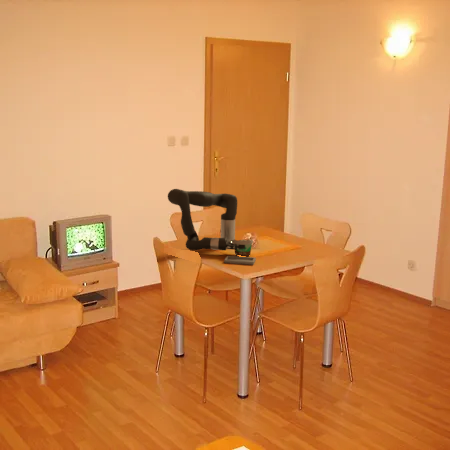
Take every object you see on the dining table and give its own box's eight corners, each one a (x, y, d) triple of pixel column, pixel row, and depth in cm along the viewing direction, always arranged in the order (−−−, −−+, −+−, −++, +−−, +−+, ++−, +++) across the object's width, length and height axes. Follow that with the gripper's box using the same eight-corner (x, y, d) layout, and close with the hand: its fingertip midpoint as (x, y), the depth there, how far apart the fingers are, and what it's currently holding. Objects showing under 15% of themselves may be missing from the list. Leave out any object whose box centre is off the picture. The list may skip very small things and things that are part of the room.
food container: (234, 257, 368) (234, 241, 365) (232, 254, 374) (233, 238, 371) (254, 257, 370) (255, 241, 367) (252, 254, 376) (253, 238, 373)
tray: (227, 258, 365) (227, 255, 365) (255, 260, 363) (255, 257, 362) (224, 263, 356) (224, 260, 355) (253, 265, 353) (253, 262, 353)
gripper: (216, 240, 365) (244, 242, 363) (221, 235, 379) (247, 236, 376) (216, 252, 367) (244, 254, 364) (220, 247, 381) (247, 248, 378)
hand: (245, 245), depth 370 cm, fingers closed on food container, 7 cm apart
